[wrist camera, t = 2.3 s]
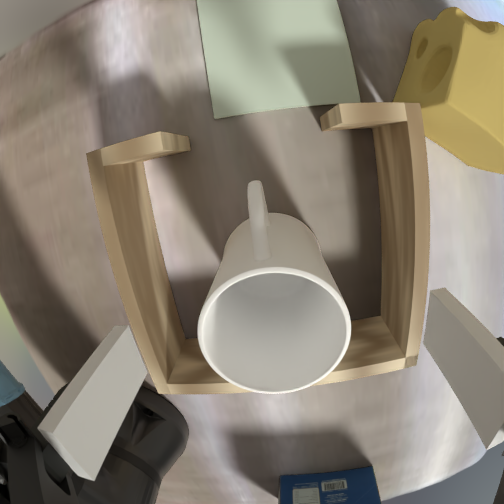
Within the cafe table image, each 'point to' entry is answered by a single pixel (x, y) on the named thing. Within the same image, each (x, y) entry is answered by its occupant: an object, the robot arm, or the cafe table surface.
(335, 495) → the protein box
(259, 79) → the mat
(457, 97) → the cheese
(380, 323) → the frame
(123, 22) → the cafe table surface
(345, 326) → the mug
